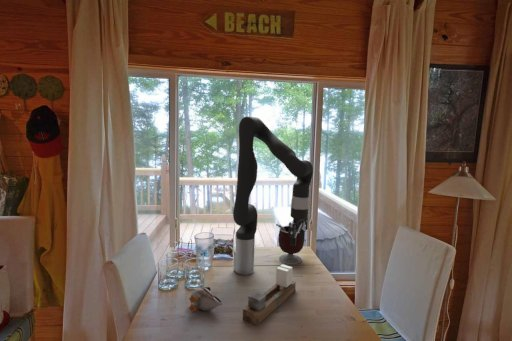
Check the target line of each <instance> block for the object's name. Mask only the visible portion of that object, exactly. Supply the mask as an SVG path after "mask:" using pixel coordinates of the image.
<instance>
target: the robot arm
mask: <svg viewBox="0 0 512 341" xmlns="http://www.w3.org/2000/svg"><path fill="white" fill-rule="evenodd" d="M254 138H256V139H258V140H260V141H261V142H263V143H264V144H265V145H266V146H267V148H268V150H269V151H270V153H271V154H272V155H273V156H274V157H276V159H277V160H279V161H280V162H281V163H282V164H283V165H284V166H285V168H286V169H287V170H288V171H289V172H290V173H291V174H292V175H293V176H294V177H296V181H295V182H294V183H293V186H292V195H291V196H292V197H291V203H290V204H291V205H290V217H291V218H292V219H293V220H292V222H291V221H290V222H289V223H288V226H289V230H288V236H290V237H291V242H290V245H292V246H295V245H296V236H297V233H299V231H300V235H299V239H300V240H302V241H303V240H304V241H305V235H306V231H307V230H308V228H309V225H308V224H309V210H310V209H309V207H310V186H311V182H312V177H313V174H314V168H313V164H312V163H311V161H309V160H304V159H303V160H301V159H300V158H298V156H297V154H296V152H295V151H294V150H293V149H292V148H291V147H290V146H288V145H287V144H286V143H284V141H282V140H281V139H279V137H277V135H275V133H273V132H272V131H271V130H270V129H269V127H268V126H267V125H266V124H265V123H264V122H263V121H262V120H261V119H260V118H258V117H254V116H250V115H249V116H248V115H247V116H244V117H242V118H241V120H240V121H239V124H238V142H239V143H238V144H239V145H238V148H239V149H238V163H237V175H236V176H237V179H236V190H235V191H236V192H235V200H234V205H233V210H232V212H233V214H232V216H233V220H234V223H235V224H236V225H238V226H239V227H238V228H237V230H236V232H235V251H233V271H234V272H235V273H236V274H238V275H243V276H244V275H245V276H246V275H251V274H253V273H254V272H255V271H254V270H255V243H256V242H255V240H256V239H255V238H256V237H255V236H256V235H255V234H257V233H256V232H257V226H258V209H257V208H256V207H255V205H253V204H251V203H250V196H251V193H252V191H253V189H254V187H255V185H256V182H257V177H258V166H259V165H258V162H257V158H256V155H255V153H254Z"/></svg>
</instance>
